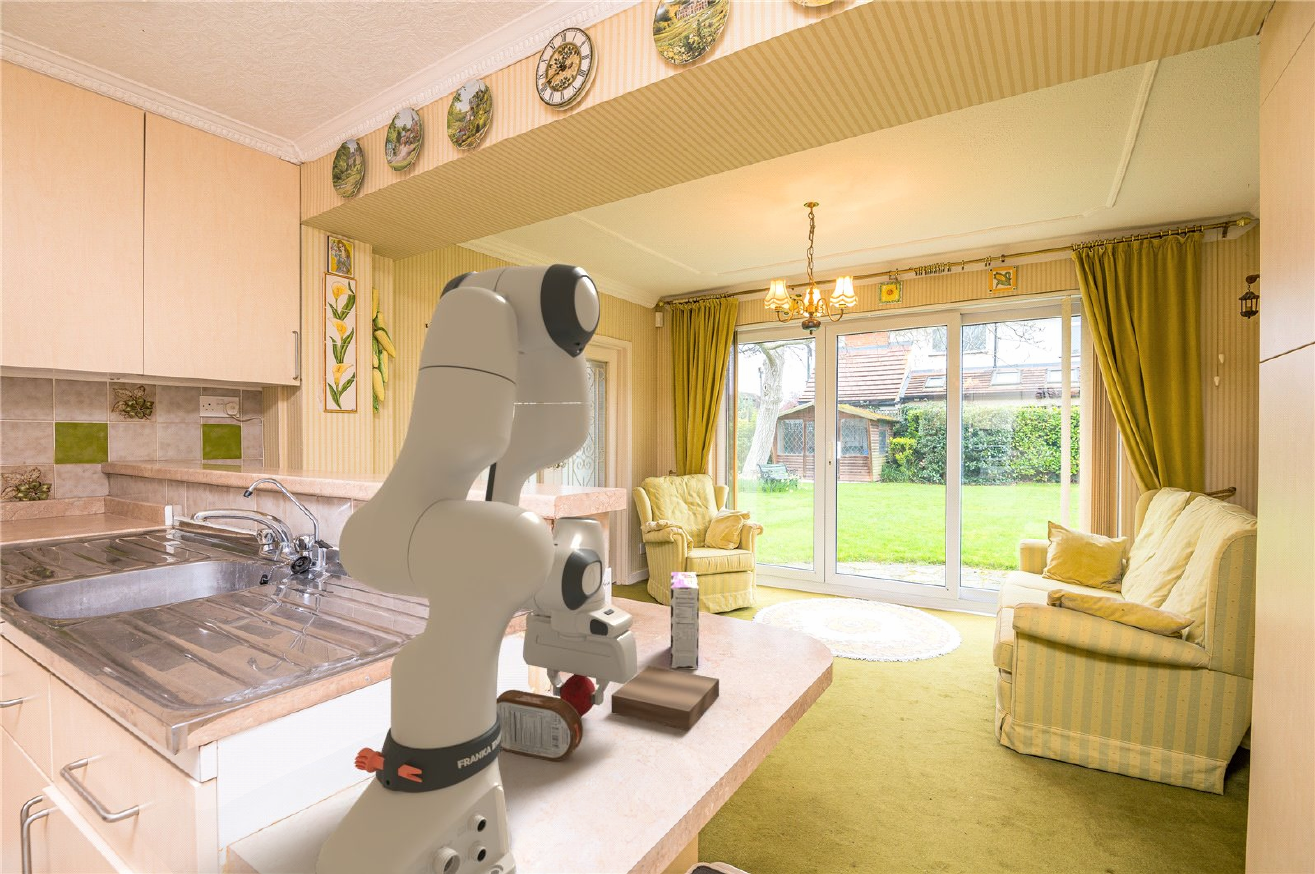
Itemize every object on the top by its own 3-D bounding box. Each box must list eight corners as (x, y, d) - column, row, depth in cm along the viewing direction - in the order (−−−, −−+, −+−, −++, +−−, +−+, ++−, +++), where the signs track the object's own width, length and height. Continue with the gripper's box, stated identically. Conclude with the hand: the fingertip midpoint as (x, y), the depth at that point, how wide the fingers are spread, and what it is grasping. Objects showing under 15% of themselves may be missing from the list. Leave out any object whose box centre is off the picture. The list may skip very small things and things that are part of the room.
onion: (589, 728, 94) (589, 677, 94) (554, 724, 95) (554, 674, 95) (600, 711, 100) (600, 663, 100) (567, 708, 101) (567, 661, 101)
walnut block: (689, 730, 93) (689, 711, 93) (611, 712, 99) (611, 694, 99) (719, 695, 106) (719, 678, 106) (648, 681, 112) (648, 665, 112)
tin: (584, 757, 85) (584, 699, 85) (573, 769, 82) (573, 708, 82) (495, 739, 90) (495, 684, 90) (482, 749, 87) (482, 692, 88)
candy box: (670, 645, 132) (670, 570, 132) (697, 645, 132) (697, 571, 132) (669, 669, 118) (669, 586, 118) (699, 669, 118) (699, 586, 118)
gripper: (514, 611, 99) (514, 694, 99) (622, 628, 90) (622, 719, 90) (538, 602, 105) (537, 680, 105) (641, 617, 96) (641, 703, 96)
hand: (578, 699), depth 97 cm, fingers closed on onion, 6 cm apart
